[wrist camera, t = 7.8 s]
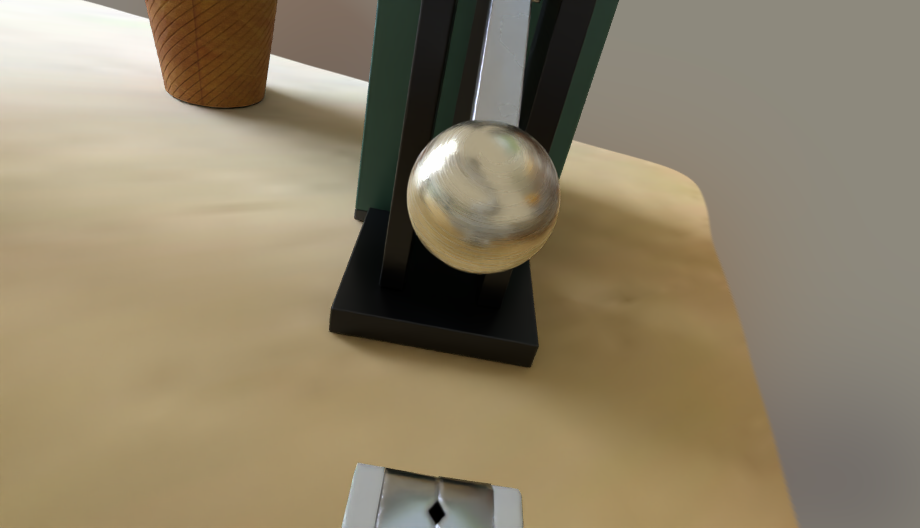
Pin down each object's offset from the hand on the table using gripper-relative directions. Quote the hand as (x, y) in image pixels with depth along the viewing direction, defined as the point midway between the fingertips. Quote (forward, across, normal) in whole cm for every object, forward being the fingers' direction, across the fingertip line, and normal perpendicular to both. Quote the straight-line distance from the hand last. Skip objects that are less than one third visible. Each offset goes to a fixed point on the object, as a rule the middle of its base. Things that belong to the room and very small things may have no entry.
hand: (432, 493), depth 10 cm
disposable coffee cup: (+32, +17, +6) cm, 36 cm away
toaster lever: (+10, 0, -4) cm, 11 cm away
